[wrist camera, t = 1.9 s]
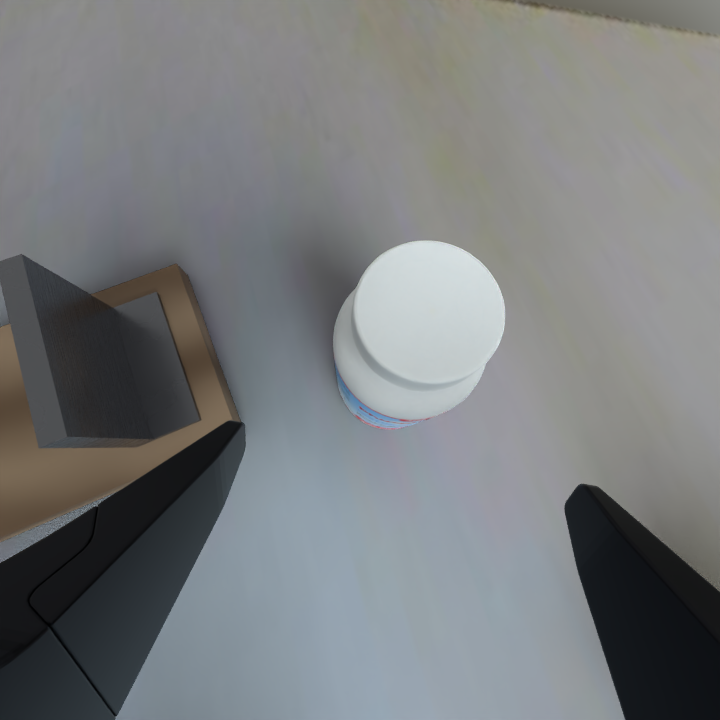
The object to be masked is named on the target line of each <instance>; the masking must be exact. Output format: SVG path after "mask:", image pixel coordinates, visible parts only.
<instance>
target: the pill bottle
mask: <svg viewBox="0 0 720 720" xmlns="http://www.w3.org/2000/svg"><path fill="white" fill-rule="evenodd" d="M504 326H505V307H504V301H503V297H502V294H501V291H500V289H499V286H498V284H497V282H496V281H495V279H494V277H493V276H492V274H491V273H490V272H489V270H488V269H487V268H486V267H485V266H484V265H483V264H482V263H481V262H480V261H479V260H478V259H476V258H475V257H474V256H473V255H471V254H470V253H468V252H466V251H465V250H463V249H461V248H459V247H456V246H454V245H451V244H447V243H443V242H439V241H427V240H422V241H412V242H407V243H404V244H401V245H398V246H396V247H394V248H391V249H389V250H387V251H386V252H384V253H383V254H381V255H380V256H378V257H377V258H376V259H375V260H374V261H373V262H372V263H371V264H370V265H369V266H368V268H367V269H366V270H365V272H364V273H363V275H362V277H361V279H360V281H359V283H358V285H357V287H356V288H355V289H354V290H353V291H352V292H351V294H350V295H349V296H348V297H347V299H346V300H345V302H344V303H343V305H342V307H341V309H340V311H339V314H338V317H337V319H336V323H335V327H334V333H333V353H334V361H335V368H336V376H337V384H338V388H339V392H340V394H341V397H342V399H343V401H344V403H345V405H346V406H347V408H348V409H349V410H350V412H351V413H352V414H353V415H354V416H355V417H356V418H358V419H359V420H360V421H362V422H363V423H365V424H367V425H370V426H372V427H375V428H379V429H399V428H403V427H407V426H410V425H413V424H416V423H418V422H421V421H424V420H427V419H430V418H432V417H435V416H438V415H440V414H442V413H444V412H446V411H448V410H450V409H452V408H454V407H455V406H457V405H458V404H459V403H461V402H462V401H463V400H464V399H465V398H466V397H467V396H468V395H469V394H470V393H471V392H472V391H473V389H474V388H475V386H476V385H477V383H478V382H479V380H480V378H481V376H482V373H483V371H484V368H485V365H486V362H487V361H488V360H489V359H490V358H491V356H492V355H493V354H494V352H495V350H496V349H497V347H498V345H499V343H500V341H501V338H502V335H503V331H504Z"/></svg>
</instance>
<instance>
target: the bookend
mask: <svg viewBox="0 0 720 720" xmlns="http://www.w3.org/2000/svg"><path fill="white" fill-rule="evenodd" d="M0 282H1V286H2V291H3V295H4V299H5V304H6V308H7V312H8V317H9V321H10V326H11V330H12V334H13V339H14V343H15V347H16V352H17V356H18V360H19V365H20V369H21V373H22V378H23V382H24V386H25V391H26V395H27V400H28V404H29V408H30V413H31V417H32V421H33V426H34V430H35V434H36V439H37V443H38V447H39V448H137V447H140V446H142V445H144V444H147V443H149V442H151V441H154V440H156V439H159V438H161V437H163V436H166V435H168V434H170V433H173V432H175V431H178V430H180V429H182V428H185V427H187V426H189V425H192V424H194V423H196V422H199V421H201V420H202V419H201V416H200V413H199V410H198V408H197V405H196V402H195V399H194V396H193V393H192V390H191V387H190V384H189V381H188V378H187V375H186V372H185V369H184V366H183V363H182V360H181V357H180V354H179V351H178V348H177V345H176V342H175V340H174V337H173V334H172V331H171V328H170V325H169V322H168V319H167V316H166V313H165V310H164V307H163V304H162V301H161V298H160V295H159V294H158V293H157V292H154V293H152V294H149V295H146V296H144V297H141V298H138V299H135V300H133V301H130V302H127V303H125V304H122V305H119V306H116V307H114V308H113V307H111V306H109V305H107V304H106V303H104V302H102V301H101V300H99V299H97V298H96V297H94V296H92V295H90V294H89V293H87V292H85V291H84V290H82V289H80V288H78V287H77V286H75V285H73V284H72V283H70V282H68V281H67V280H65V279H63V278H61V277H60V276H58V275H56V274H55V273H53V272H51V271H50V270H48V269H46V268H44V267H43V266H41V265H39V264H38V263H36V262H34V261H32V260H31V259H29V258H27V257H26V256H24V255H22V254H20V255H18V256H15V257H12V258H9V259H6V260H3V261H0Z"/></svg>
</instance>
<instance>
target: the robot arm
mask: <svg viewBox="0 0 720 720" xmlns="http://www.w3.org/2000/svg"><path fill="white" fill-rule="evenodd" d="M245 446H246V441H245V425H244V423H242V422H238V421H233V420H229V421H226V422H225V423H223V424H222V425H220V426H218V427H217V428H215V429H214V430H212V431H211V432H209V433H208V434H206V435H205V436H203V437H201V438H200V439H198V440H197V441H195V442H194V443H192V444H191V445H189V446H188V447H186V448H184V449H183V450H181V451H180V452H178V453H177V454H175V455H174V456H172V457H171V458H169V459H167V460H166V461H164V462H163V463H161V464H160V465H158V466H157V467H155V468H154V469H152V470H150V471H149V472H147V473H146V474H144V475H143V476H141V477H140V478H138V479H137V480H135V481H133V482H132V483H130V484H129V485H127V486H126V487H124V488H123V489H121V490H120V491H118V492H116V493H115V494H113V495H112V496H110V497H109V498H107V499H106V500H104V501H103V502H101V503H100V504H99V505H98V507H97V506H95V507H93V508H92V509H90V510H88V511H87V512H85V513H84V514H82V515H81V516H79V517H78V518H76V519H74V520H73V521H71V522H70V523H68V524H66V525H65V526H63V527H62V528H60V529H58V530H57V531H55V532H53V533H52V534H50V535H49V536H47V537H45V538H43V539H42V540H40V541H38V542H37V543H35V544H33V545H31V546H30V547H28V548H26V549H24V550H23V551H21V552H19V553H17V554H16V555H14V556H12V557H10V558H9V559H7V560H5V561H3V562H1V563H0V720H115V719H116V718H115V716H117V715H118V713H119V711H120V709H121V707H122V705H123V703H124V701H125V699H126V697H127V695H128V693H129V691H130V689H131V688H132V686H133V684H134V682H135V680H136V678H137V676H138V674H139V672H140V670H141V668H142V666H143V664H144V662H145V660H146V658H147V656H148V654H149V652H150V650H151V648H152V646H153V644H154V642H155V640H156V638H157V637H158V635H159V633H160V631H161V629H162V627H163V625H164V623H165V621H166V619H167V617H168V615H169V613H170V611H171V609H172V607H173V605H174V603H175V601H176V599H177V597H178V595H179V593H180V591H181V589H182V587H183V586H184V584H185V582H186V580H187V578H188V576H189V574H190V572H191V570H192V568H193V566H194V564H195V562H196V560H197V558H198V556H199V554H200V552H201V550H202V548H203V546H204V544H205V542H206V540H207V538H208V536H209V535H210V533H211V531H212V529H213V527H214V525H215V523H216V521H217V519H218V517H219V515H220V513H221V511H222V509H223V507H224V504H225V502H226V499H227V497H228V494H229V491H230V489H231V486H232V483H233V481H234V478H235V475H236V473H237V470H238V468H239V465H240V462H241V460H242V457H243V454H244V451H245ZM565 515H566V520H567V525H568V529H569V534H570V539H571V543H572V548H573V552H574V557H575V562H576V566H577V570H578V573H579V576H580V580H581V583H582V586H583V589H584V592H585V596H586V599H587V602H588V605H589V608H590V611H591V614H592V617H593V620H594V624H595V627H596V630H597V633H598V636H599V639H600V642H601V645H602V649H603V652H604V655H605V658H606V661H607V664H608V667H609V670H610V673H611V677H612V680H613V683H614V686H615V689H616V692H617V695H618V698H619V701H620V705H621V708H622V711H623V714H624V717H625V720H720V592H719V591H718V590H717V589H716V588H715V587H713V586H712V585H711V584H710V583H709V582H708V581H707V580H705V579H704V578H703V577H702V576H701V575H700V574H698V573H697V572H696V571H695V570H694V569H693V568H692V567H690V566H689V565H688V564H687V563H686V562H685V561H683V560H682V559H681V558H680V557H679V556H678V555H677V554H675V553H674V552H673V551H672V550H671V549H670V548H668V547H667V546H666V545H665V544H664V543H663V542H661V541H660V540H659V539H658V538H657V537H656V536H655V535H653V534H652V533H651V532H650V531H649V530H648V529H646V528H645V527H644V526H643V525H642V524H641V523H640V522H638V521H637V520H636V519H635V518H634V517H633V516H631V515H630V514H629V513H628V512H627V511H626V510H625V509H623V508H622V507H621V506H620V505H619V504H618V503H616V502H615V501H614V500H613V499H612V498H611V497H609V496H608V495H607V494H606V493H605V492H604V491H603V490H601V489H600V488H599V487H597V486H593V485H588V484H580V485H578V486H577V487H576V489H575V490H574V491H573V493H572V494H571V496H570V497H569V498H568V500H567V501H566V503H565Z"/></svg>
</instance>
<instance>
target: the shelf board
mask: <svg viewBox="0 0 720 720" xmlns="http://www.w3.org/2000/svg"><path fill="white" fill-rule="evenodd" d="M154 292H157V293H158V294H159V295H160V298H161V301H162V304H163V307H164V310H165V313H166V316H167V319H168V322H169V325H170V328H171V331H172V334H173V337H174V340H175V342H176V345H177V348H178V351H179V354H180V357H181V360H182V363H183V366H184V369H185V372H186V375H187V378H188V381H189V384H190V387H191V390H192V393H193V396H194V399H195V402H196V405H197V408H198V410H199V413H200V416H201V419H202V420H201V421H199V422H196V423H194V424H192V425H189V426H187V427H185V428H182V429H180V430H178V431H175V432H173V433H170V434H168V435H166V436H163V437H161V438H159V439H156V440H154V441H151V442H149V443H147V444H144V445H142V446H140V447H137V448H39V447H38V443H37V439H36V434H35V430H34V426H33V421H32V417H31V413H30V408H29V404H28V400H27V395H26V391H25V386H24V382H23V378H22V373H21V369H20V365H19V360H18V356H17V352H16V347H15V343H14V339H13V334H12V330H11V326H10V324H8V325H5V326H2V327H0V542H2V541H4V540H7V539H9V538H11V537H14V536H16V535H18V534H21V533H23V532H25V531H27V530H30V529H32V528H34V527H37V526H39V525H41V524H44V523H46V522H48V521H50V520H53V519H55V518H57V517H60V516H62V515H64V514H66V513H69V512H71V511H73V510H76V509H78V508H80V507H83V506H85V505H87V504H89V503H92V502H94V501H96V500H99V499H101V498H103V497H106V496H108V495H110V494H112V493H115V492H117V491H119V490H121V489H123V488H124V487H126V486H127V485H129V484H130V483H132V482H133V481H135V480H137V479H138V478H140V477H141V476H143V475H144V474H146V473H147V472H149V471H150V470H152V469H154V468H155V467H157V466H158V465H160V464H161V463H163V462H164V461H166V460H167V459H169V458H171V457H172V456H174V455H175V454H177V453H178V452H180V451H181V450H183V449H184V448H186V447H188V446H189V445H191V444H192V443H194V442H195V441H197V440H198V439H200V438H201V437H203V436H205V435H206V434H208V433H209V432H211V431H212V430H214V429H215V428H217V427H218V426H220V425H222V424H223V423H225V422H226V421H229V420H233V421H238V422H241V421H240V418H239V415H238V413H237V410H236V407H235V404H234V402H233V399H232V396H231V393H230V391H229V388H228V385H227V382H226V380H225V377H224V374H223V371H222V369H221V366H220V363H219V360H218V358H217V355H216V352H215V349H214V347H213V344H212V341H211V338H210V336H209V333H208V330H207V327H206V325H205V322H204V319H203V316H202V314H201V311H200V308H199V305H198V302H197V300H196V297H195V294H194V291H193V289H192V286H191V283H190V280H189V278H188V275H187V274H186V273H185V272H184V271H183V270H182V269H181V268H180V267H179V266H178V265H177V264H174V265H171V266H169V267H166V268H163V269H160V270H158V271H155V272H152V273H149V274H146V275H144V276H141V277H138V278H135V279H133V280H130V281H127V282H124V283H121V284H119V285H116V286H113V287H110V288H108V289H105V290H102V291H99V292H96V293H94V294H91V295H92V296H94V297H96V298H97V299H99V300H101V301H102V302H104V303H106V304H107V305H109V306H111V307H113V308H114V307H116V306H119V305H122V304H125V303H127V302H130V301H133V300H135V299H138V298H141V297H144V296H146V295H149V294H152V293H154ZM245 436H246V435H245Z"/></svg>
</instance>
